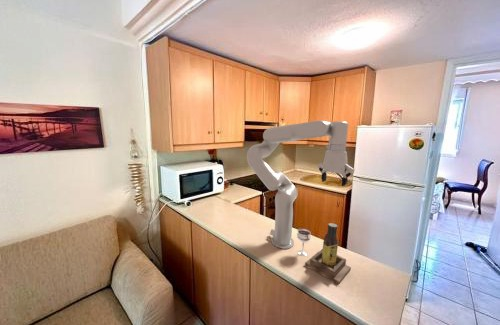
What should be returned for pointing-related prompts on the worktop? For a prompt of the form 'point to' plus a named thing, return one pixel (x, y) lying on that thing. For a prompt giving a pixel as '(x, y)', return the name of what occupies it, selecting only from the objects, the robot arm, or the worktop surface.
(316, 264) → the caddy
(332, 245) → the sauce bottle
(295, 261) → the worktop surface
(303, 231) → the wineglass
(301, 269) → the worktop surface
